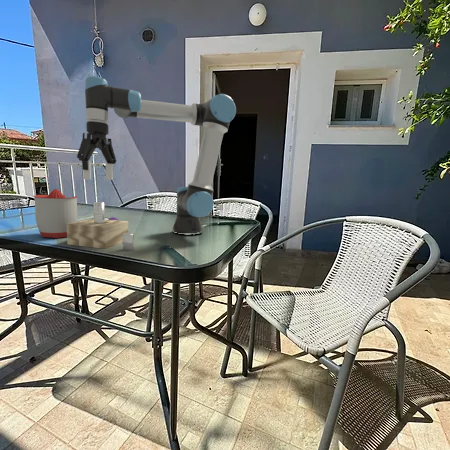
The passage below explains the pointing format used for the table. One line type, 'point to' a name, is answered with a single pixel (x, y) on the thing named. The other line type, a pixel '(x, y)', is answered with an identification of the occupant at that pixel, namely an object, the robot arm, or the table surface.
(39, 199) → the citrus juicer
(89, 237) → the hole block
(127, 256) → the table surface
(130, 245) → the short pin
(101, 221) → the long pin
